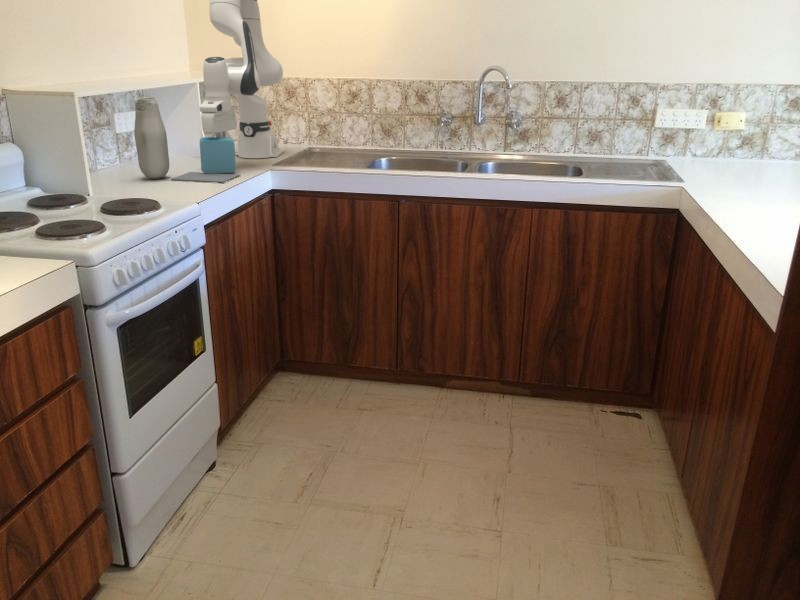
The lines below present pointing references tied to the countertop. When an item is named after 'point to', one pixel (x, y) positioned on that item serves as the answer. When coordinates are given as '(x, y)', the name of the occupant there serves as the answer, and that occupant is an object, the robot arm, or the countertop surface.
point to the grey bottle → (150, 138)
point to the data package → (217, 155)
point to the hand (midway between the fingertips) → (222, 144)
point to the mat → (205, 177)
